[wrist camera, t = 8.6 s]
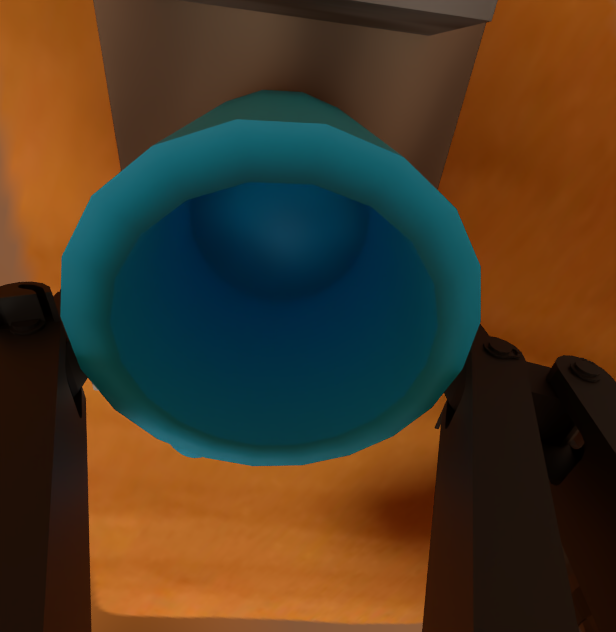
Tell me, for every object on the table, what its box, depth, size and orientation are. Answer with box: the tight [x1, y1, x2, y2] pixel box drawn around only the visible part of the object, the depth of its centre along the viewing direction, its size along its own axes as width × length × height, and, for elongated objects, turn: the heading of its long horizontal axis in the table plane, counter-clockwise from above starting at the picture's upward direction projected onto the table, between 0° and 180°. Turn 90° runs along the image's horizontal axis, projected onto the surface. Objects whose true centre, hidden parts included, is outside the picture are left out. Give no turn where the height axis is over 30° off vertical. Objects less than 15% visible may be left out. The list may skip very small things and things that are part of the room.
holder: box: [93, 0, 498, 189], centre depth 16 cm, size 14×19×6 cm
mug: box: [60, 90, 481, 466], centre depth 12 cm, size 12×8×8 cm
